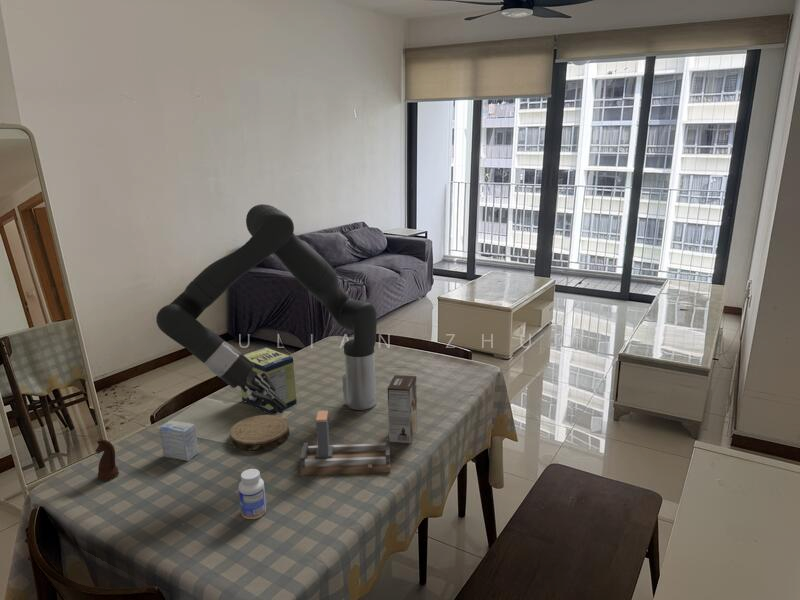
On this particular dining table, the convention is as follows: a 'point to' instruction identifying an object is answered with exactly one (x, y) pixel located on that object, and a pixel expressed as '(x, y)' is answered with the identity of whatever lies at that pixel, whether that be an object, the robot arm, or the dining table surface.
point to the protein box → (274, 375)
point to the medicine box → (179, 440)
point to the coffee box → (402, 408)
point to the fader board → (347, 459)
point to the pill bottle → (252, 494)
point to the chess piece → (106, 461)
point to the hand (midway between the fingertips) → (284, 409)
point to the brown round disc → (259, 433)
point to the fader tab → (323, 436)
